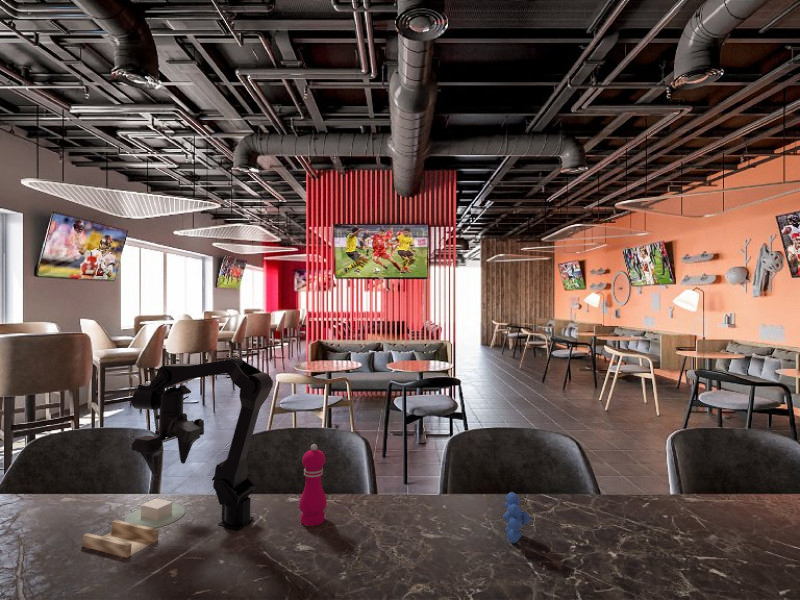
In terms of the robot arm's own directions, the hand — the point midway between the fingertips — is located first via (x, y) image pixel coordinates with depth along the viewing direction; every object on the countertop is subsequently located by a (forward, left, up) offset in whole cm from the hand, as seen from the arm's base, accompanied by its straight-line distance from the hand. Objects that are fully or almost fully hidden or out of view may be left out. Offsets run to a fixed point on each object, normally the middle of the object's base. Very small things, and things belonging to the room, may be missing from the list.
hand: (169, 468), depth 115 cm
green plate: (+2, +2, -12) cm, 13 cm away
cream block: (+2, +2, -12) cm, 12 cm away
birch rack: (-2, +15, -12) cm, 20 cm away
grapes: (-90, -18, -13) cm, 93 cm away
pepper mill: (-38, -11, -13) cm, 42 cm away
